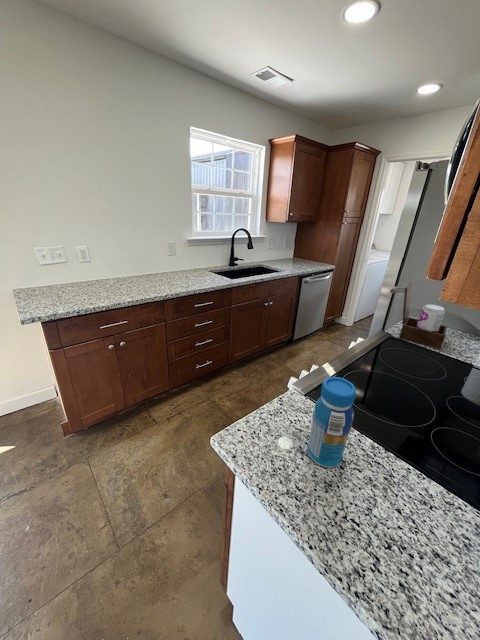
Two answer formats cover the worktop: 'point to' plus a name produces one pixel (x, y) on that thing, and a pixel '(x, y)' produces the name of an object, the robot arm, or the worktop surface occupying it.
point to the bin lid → (406, 299)
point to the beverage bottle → (331, 422)
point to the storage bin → (422, 334)
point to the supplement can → (431, 318)
